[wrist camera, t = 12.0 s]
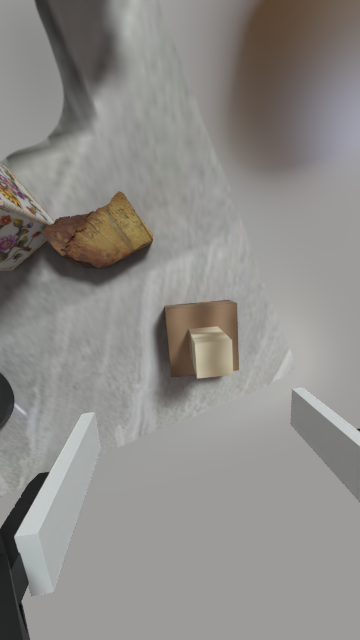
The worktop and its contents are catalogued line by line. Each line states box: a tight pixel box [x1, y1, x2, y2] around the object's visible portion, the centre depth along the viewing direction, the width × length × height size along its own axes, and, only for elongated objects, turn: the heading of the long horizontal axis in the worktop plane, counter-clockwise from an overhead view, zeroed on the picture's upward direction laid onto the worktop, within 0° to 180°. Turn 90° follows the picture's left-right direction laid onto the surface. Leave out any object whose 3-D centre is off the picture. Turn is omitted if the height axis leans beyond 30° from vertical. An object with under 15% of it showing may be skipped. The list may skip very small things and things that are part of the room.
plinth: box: [165, 300, 239, 377], centre depth 40 cm, size 12×12×5 cm
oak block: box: [188, 326, 233, 379], centre depth 33 cm, size 5×5×8 cm
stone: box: [43, 192, 153, 268], centre depth 35 cm, size 15×9×5 cm, turn 113°
